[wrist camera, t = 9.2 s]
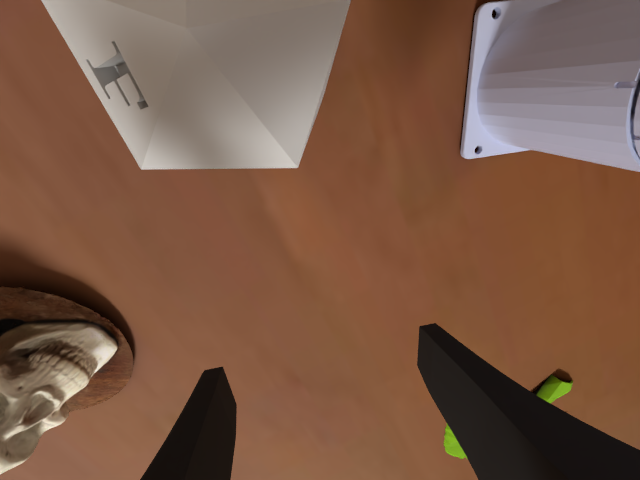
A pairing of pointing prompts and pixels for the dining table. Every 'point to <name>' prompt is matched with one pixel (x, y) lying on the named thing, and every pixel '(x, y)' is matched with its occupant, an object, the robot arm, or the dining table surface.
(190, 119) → the die
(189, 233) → the dining table surface
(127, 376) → the skull
